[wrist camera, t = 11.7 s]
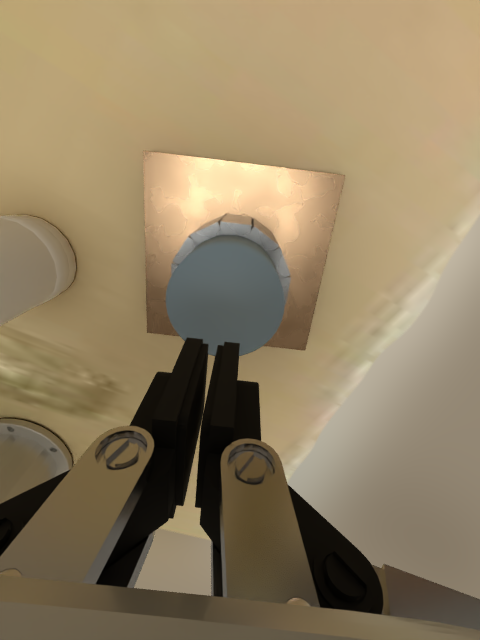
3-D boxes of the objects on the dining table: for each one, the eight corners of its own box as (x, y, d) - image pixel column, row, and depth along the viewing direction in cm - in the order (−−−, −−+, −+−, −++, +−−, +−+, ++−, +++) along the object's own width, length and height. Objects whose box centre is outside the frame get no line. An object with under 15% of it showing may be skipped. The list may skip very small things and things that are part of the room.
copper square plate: (302, 343, 31) (318, 390, 24) (151, 326, 31) (121, 368, 24) (340, 176, 25) (377, 170, 17) (149, 152, 24) (106, 137, 17)
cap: (267, 313, 26) (274, 362, 18) (189, 304, 26) (165, 350, 18) (280, 232, 23) (294, 253, 16) (193, 222, 23) (165, 238, 15)
